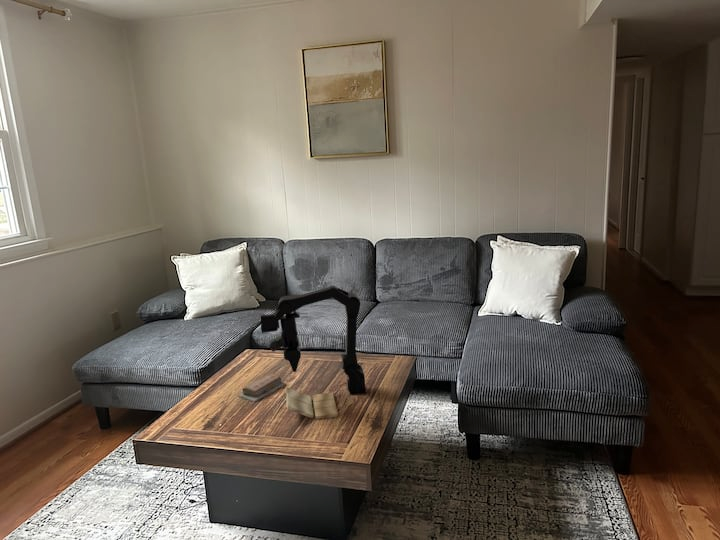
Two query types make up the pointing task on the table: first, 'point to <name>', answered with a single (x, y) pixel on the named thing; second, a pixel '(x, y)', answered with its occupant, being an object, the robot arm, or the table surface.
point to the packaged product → (261, 387)
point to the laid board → (324, 406)
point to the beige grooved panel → (299, 402)
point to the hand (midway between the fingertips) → (294, 367)
